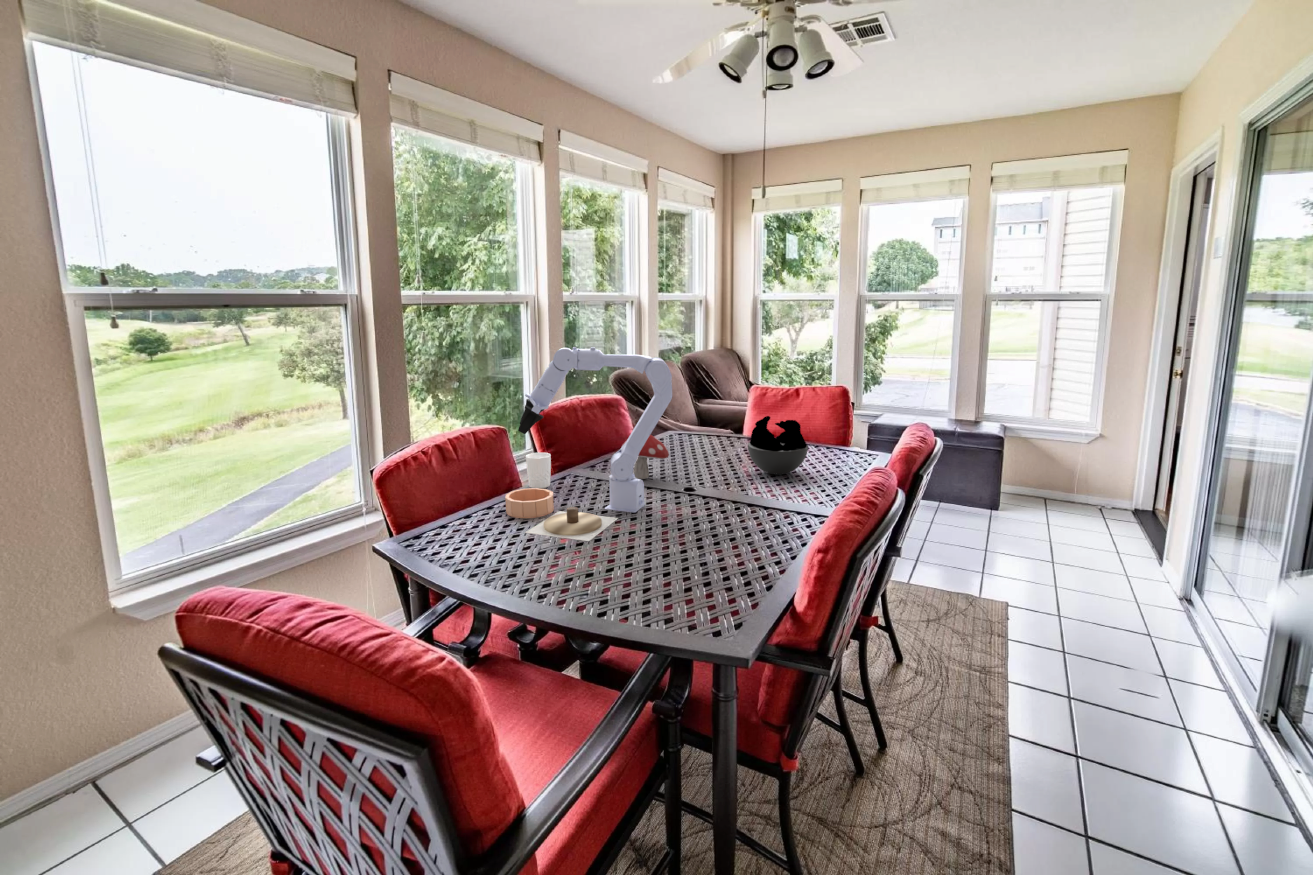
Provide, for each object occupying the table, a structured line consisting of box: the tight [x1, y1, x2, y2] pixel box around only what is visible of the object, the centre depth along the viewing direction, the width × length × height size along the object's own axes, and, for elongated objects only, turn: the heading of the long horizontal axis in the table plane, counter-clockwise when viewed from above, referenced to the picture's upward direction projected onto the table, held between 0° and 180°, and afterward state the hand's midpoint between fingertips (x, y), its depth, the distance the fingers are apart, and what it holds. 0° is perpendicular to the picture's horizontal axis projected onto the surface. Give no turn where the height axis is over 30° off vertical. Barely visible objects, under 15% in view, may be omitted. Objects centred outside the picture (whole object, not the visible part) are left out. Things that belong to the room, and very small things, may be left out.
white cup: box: [525, 452, 552, 489], centre depth 208 cm, size 8×8×10 cm
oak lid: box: [543, 506, 602, 535], centre depth 170 cm, size 15×15×4 cm
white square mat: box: [524, 510, 619, 542], centre depth 171 cm, size 18×18×1 cm
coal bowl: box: [747, 415, 809, 476], centre depth 219 cm, size 20×20×19 cm
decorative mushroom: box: [621, 434, 670, 480], centre depth 215 cm, size 16×16×15 cm
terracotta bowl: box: [504, 487, 555, 519], centre depth 183 cm, size 13×13×5 cm
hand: (522, 428), depth 180 cm, fingers open, 7 cm apart
